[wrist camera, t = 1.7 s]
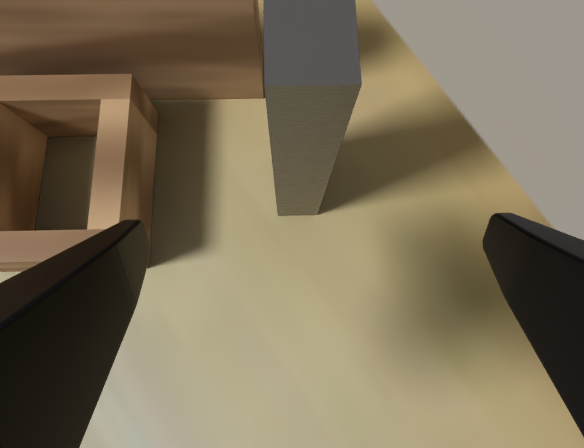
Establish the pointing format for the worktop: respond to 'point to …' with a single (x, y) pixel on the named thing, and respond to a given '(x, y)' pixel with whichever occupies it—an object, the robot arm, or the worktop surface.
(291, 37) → the grey bar
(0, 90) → the wooden socket
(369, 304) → the worktop surface
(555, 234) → the robot arm
